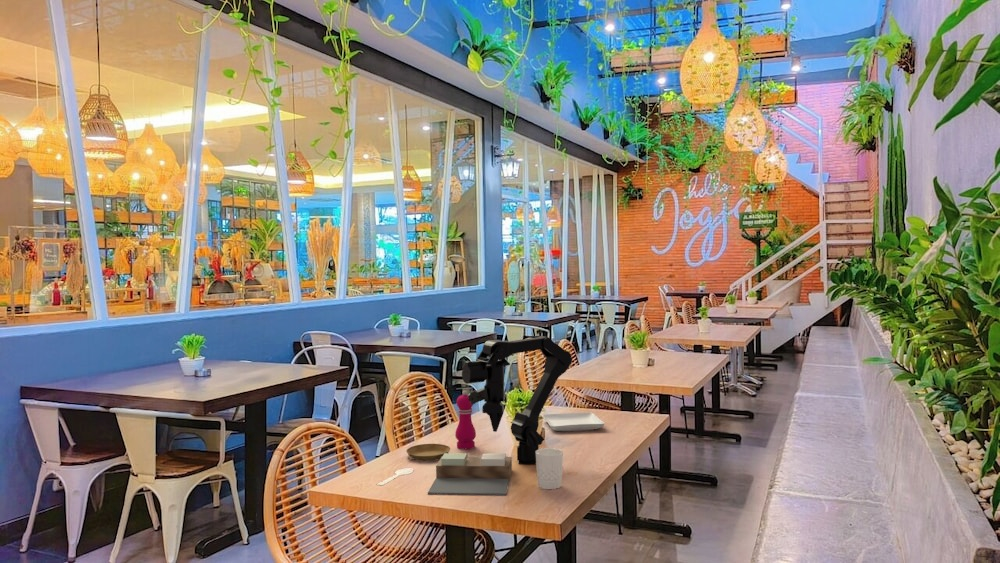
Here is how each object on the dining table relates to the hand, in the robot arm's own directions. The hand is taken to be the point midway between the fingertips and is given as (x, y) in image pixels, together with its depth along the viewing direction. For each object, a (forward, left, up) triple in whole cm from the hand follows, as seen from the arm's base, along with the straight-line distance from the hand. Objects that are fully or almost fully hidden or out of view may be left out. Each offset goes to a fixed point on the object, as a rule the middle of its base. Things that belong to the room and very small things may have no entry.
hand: (495, 429), depth 215 cm
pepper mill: (+13, -24, -12) cm, 30 cm away
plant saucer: (+24, -12, -12) cm, 30 cm away
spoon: (+30, +10, -13) cm, 34 cm away
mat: (+6, +19, -12) cm, 23 cm away
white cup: (-17, +17, -12) cm, 27 cm away
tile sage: (+12, +8, -8) cm, 17 cm away
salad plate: (-25, -56, -13) cm, 63 cm away
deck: (+6, +7, -12) cm, 15 cm away
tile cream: (0, +8, -8) cm, 12 cm away
